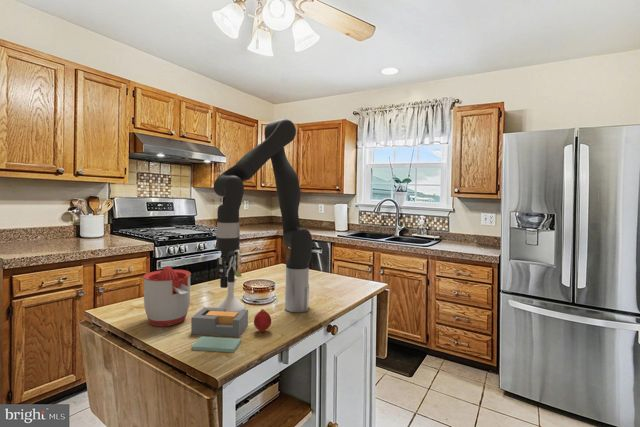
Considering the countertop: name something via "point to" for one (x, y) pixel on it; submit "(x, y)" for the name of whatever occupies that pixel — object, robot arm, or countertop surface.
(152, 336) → the countertop surface
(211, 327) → the kitting block
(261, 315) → the onion
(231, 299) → the flower in vase
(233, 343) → the mat
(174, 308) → the citrus juicer
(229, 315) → the plank
